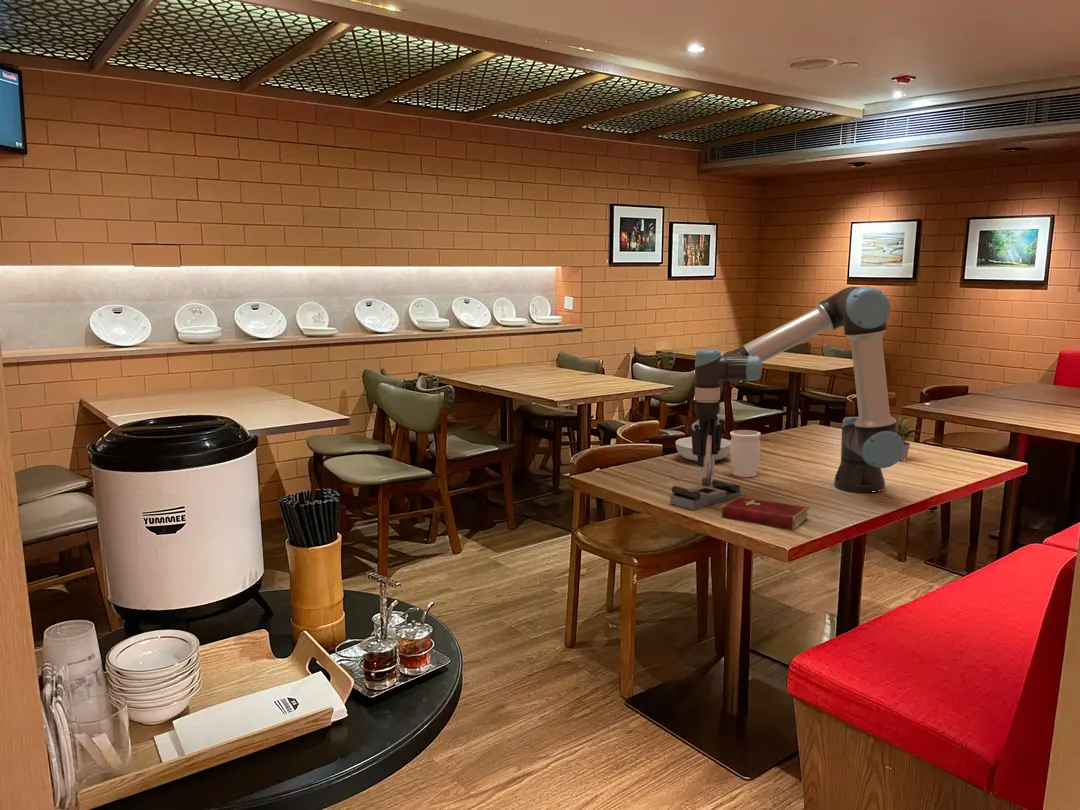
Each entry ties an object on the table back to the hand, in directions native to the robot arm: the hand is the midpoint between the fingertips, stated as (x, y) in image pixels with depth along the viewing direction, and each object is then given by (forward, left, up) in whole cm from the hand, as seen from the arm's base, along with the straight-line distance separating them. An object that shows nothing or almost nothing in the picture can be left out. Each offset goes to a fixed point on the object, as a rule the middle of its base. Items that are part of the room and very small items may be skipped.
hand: (706, 475), depth 236 cm
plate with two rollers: (0, 0, -8) cm, 8 cm away
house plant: (-14, -91, -8) cm, 93 cm away
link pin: (0, 0, -3) cm, 3 cm away
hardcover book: (-23, +2, -9) cm, 25 cm away
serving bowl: (+36, -42, -8) cm, 56 cm away
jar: (+11, -34, -8) cm, 37 cm away
